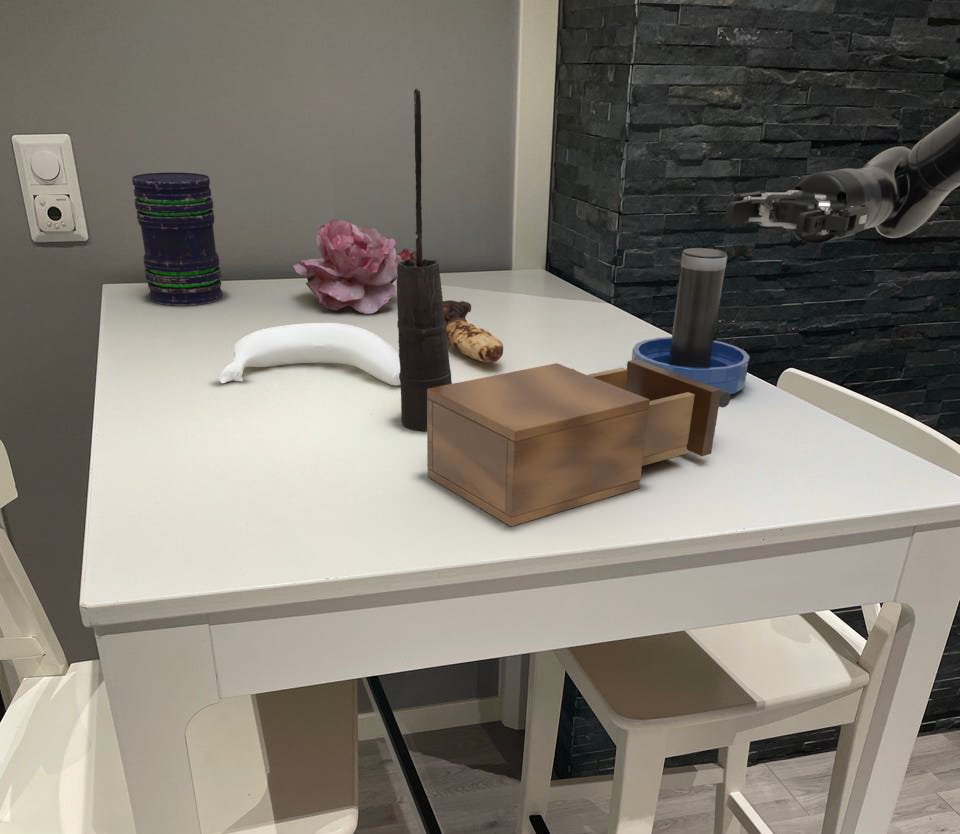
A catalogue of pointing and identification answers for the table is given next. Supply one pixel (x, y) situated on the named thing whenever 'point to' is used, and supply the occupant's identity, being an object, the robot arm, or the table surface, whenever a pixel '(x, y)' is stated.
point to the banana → (315, 350)
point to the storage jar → (178, 237)
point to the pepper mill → (697, 307)
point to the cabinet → (535, 441)
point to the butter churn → (420, 317)
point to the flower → (352, 267)
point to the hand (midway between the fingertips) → (764, 219)
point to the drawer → (671, 409)
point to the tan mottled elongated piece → (469, 334)
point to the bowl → (722, 373)
